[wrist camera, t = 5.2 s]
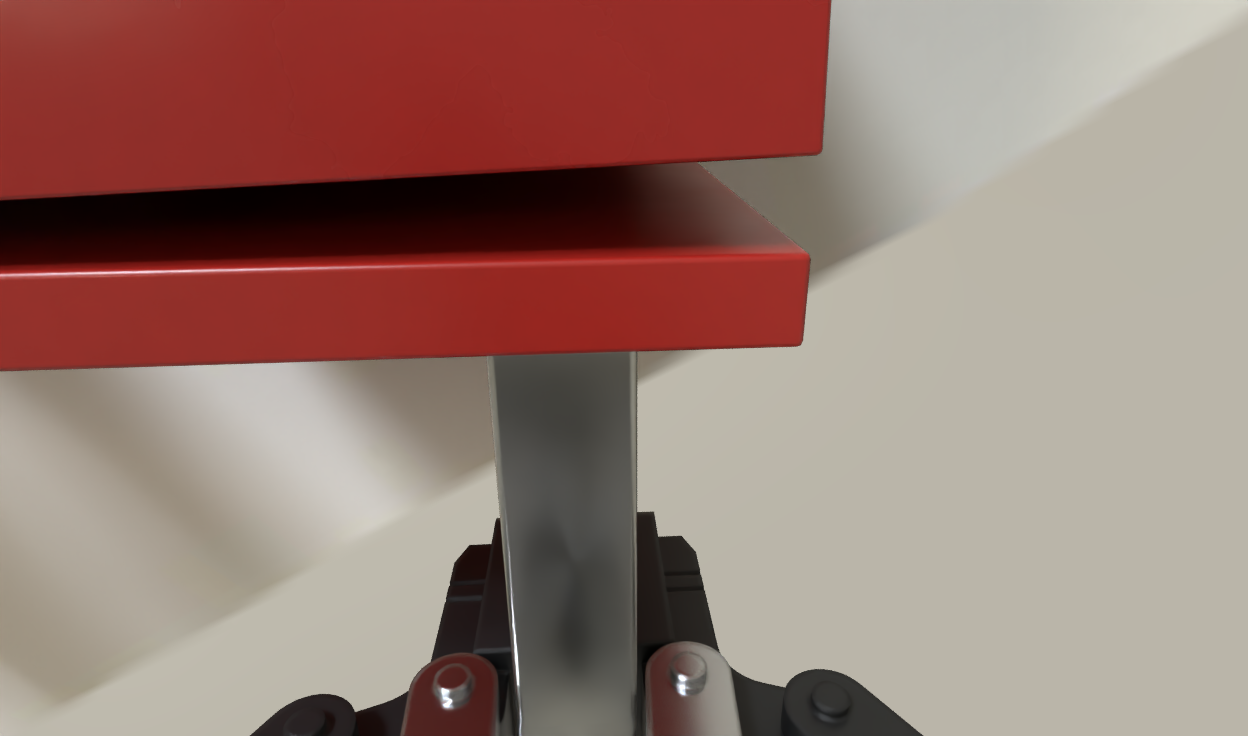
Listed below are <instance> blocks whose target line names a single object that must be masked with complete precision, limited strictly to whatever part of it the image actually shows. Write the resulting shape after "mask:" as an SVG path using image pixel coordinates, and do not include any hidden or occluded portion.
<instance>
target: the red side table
mask: <svg viewBox="0 0 1248 736" xmlns="http://www.w3.org/2000/svg"><path fill="white" fill-rule="evenodd" d="M810 261H811V259H810V256H809V254H808V253H807V252H806V251H804V250H803V249H802V248H801V247H800V246H798V245H797V244H796V243H795V242H793V241H792V240H791V239H790V238H789V237H787V236H786V235H785V234H784V233H782V232H781V231H780V230H779V229H778V228H776V227H775V226H774V225H773V224H772V223H770V222H769V221H768V220H767V219H765V218H764V217H763V216H762V215H761V214H759V213H758V212H757V211H756V210H754V209H753V208H752V207H751V206H750V205H748V204H747V203H746V202H745V201H743V200H742V199H741V198H740V197H739V196H737V195H736V194H735V193H734V192H732V191H731V190H730V189H729V188H728V187H726V186H725V185H724V184H723V183H721V182H720V181H719V180H718V179H717V178H715V177H714V176H713V175H712V174H710V173H709V172H708V171H707V170H706V169H704V168H703V167H702V166H701V165H699V164H698V163H697V162H689V163H671V164H653V165H635V166H617V167H600V168H582V169H564V170H546V171H528V172H510V173H492V174H474V175H456V176H438V177H420V178H402V179H384V180H366V181H348V182H330V183H312V184H294V185H276V186H258V187H240V188H222V189H204V190H186V191H168V192H150V193H132V194H114V195H96V196H78V197H60V198H42V199H24V200H6V201H0V371H28V370H60V369H92V368H124V367H156V366H188V365H220V364H252V363H284V362H316V361H348V360H380V359H412V358H444V357H476V356H486V359H487V370H488V382H489V394H490V406H491V417H492V429H493V441H494V452H495V464H496V476H497V487H498V499H499V510H500V522H501V534H502V546H503V557H504V569H505V581H506V593H507V604H508V616H509V628H510V639H511V651H512V663H513V674H514V686H515V698H516V709H517V721H518V734H519V736H635V733H636V729H637V351H669V350H701V349H730V348H732V349H733V348H764V347H794V346H795V347H796V346H800V345H801V343H802V341H803V333H804V324H805V314H806V303H807V293H808V282H809V272H810Z"/></svg>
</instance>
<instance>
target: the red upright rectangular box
mask: <svg viewBox="0 0 1248 736" xmlns="http://www.w3.org/2000/svg"><path fill="white" fill-rule="evenodd" d="M830 15H831V0H0V201H6V200H24V199H42V198H60V197H78V196H96V195H114V194H132V193H150V192H168V191H186V190H204V189H222V188H240V187H258V186H276V185H294V184H312V183H330V182H348V181H366V180H384V179H402V178H420V177H438V176H456V175H474V174H492V173H510V172H528V171H546V170H564V169H582V168H600V167H617V166H635V165H653V164H671V163H689V162H707V161H725V160H743V159H761V158H779V157H797V156H815V155H818V154H820V153H821V152H822V149H823V133H824V116H825V99H826V82H827V65H828V49H829V32H830Z"/></svg>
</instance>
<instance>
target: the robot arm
mask: <svg viewBox="0 0 1248 736" xmlns="http://www.w3.org/2000/svg"><path fill="white" fill-rule="evenodd" d="M250 736H519V734H518V721H517V709H516V698H515V686H514V674H513V663H512V651H511V639H510V628H509V616H508V604H507V593H506V581H505V569H504V557H503V546H502V534H501V522H500V518H497V519H496V522H495V528H494V533H493V539H492V544H486V545H485V544H483V545H469V546H468V548H467V549H466V550H465V551H464V552H463V553H462V555H461V556H460V557H459V558H458V559H457V561H456V562H455V563H454V567H453V572H452V576H451V580H450V586H449V588H448V592H447V597H446V602H445V605H444V610H443V614H442V618H441V622H440V626H439V630H438V634H437V638H436V643H435V647H434V651H433V655H432V659H431V662H430V663H428V664H427V665H426V666H425V667H423V668H422V669H421V670H420V671H419V672H418V673H417V675H416V676H415V677H414V679H413V681H412V683H411V685H410V688H409V691H407V692H406V693H404V694H403V695H401V696H399V697H397V698H395V699H393V700H391V701H388V702H386V703H383V704H380V705H376V706H373V707H370V708H367V709H364V710H361V711H358V712H355V711H354V709H353V707H352V705H351V704H350V703H349V702H348V701H347V700H345V699H344V698H342V697H339V696H336V695H331V694H318V695H312V696H308V697H304V698H301V699H298V700H296V701H294V702H292V703H290V704H288V705H286V706H285V707H284V708H282V709H280V710H279V711H278V712H277V713H275V714H274V715H273V716H272V717H271V718H270V719H268V720H267V721H266V722H265V723H264V724H263V725H262V726H260V727H259V728H258V729H257V730H256V731H255V732H254V733H252V734H251V735H250ZM635 736H923V735H922V734H920V733H919V732H918V731H917V730H916V729H914V728H913V727H912V726H911V725H909V724H908V723H907V722H906V721H905V720H903V719H902V718H901V717H900V716H898V715H897V714H896V713H895V712H894V711H892V710H891V709H890V708H889V707H888V706H886V705H885V704H884V703H882V702H881V701H880V700H879V699H878V698H876V697H875V696H874V695H873V694H872V693H870V692H869V691H868V690H867V689H866V688H864V687H863V686H862V685H860V684H859V683H858V682H856V681H855V680H854V679H852V678H850V677H848V676H847V675H844V674H842V673H839V672H835V671H832V670H825V669H814V670H808V671H804V672H802V673H799V674H798V675H796V676H794V677H793V678H792V679H791V680H790V681H789V682H788V684H787V686H786V688H784V687H780V686H775V685H771V684H766V683H762V682H758V681H754V680H752V679H749V678H747V677H745V676H743V675H741V674H740V673H738V672H736V671H735V670H734V669H733V668H731V667H730V666H729V664H728V662H727V661H726V659H725V658H724V657H723V656H722V655H721V654H720V652H719V649H718V646H717V641H716V638H715V633H714V628H713V624H712V620H711V616H710V611H709V607H708V603H707V598H706V594H705V591H704V586H703V582H702V577H701V575H700V568H699V564H698V560H697V555H696V552H695V551H694V550H693V548H692V547H691V546H690V545H689V544H688V543H687V542H686V541H685V539H684V538H683V537H682V536H668V537H667V536H666V537H658V534H657V528H656V522H655V516H654V512H637V729H636V733H635Z"/></svg>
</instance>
